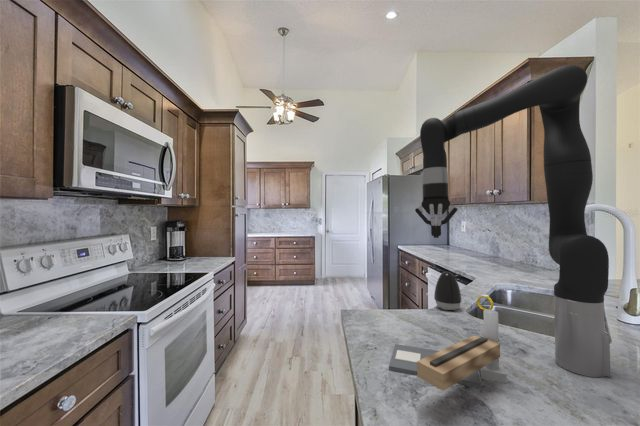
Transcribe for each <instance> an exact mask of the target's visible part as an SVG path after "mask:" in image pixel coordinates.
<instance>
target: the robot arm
mask: <svg viewBox="0 0 640 426" xmlns="http://www.w3.org/2000/svg"><path fill="white" fill-rule="evenodd" d="M587 83H588V73H587V71H586V70H585V69H584V68H583V67H581V66H578V65H573V64H568V65H563V66H559V67H556V68H554V69H552V70H549V71H548V72H546V73H544V74H541V75H540V76H538V77H537V78H534V79H533V80H531V81H529V82H526V83H525V84H522V85H520V86H519V87H516V88H514V89H512V90H510V91H508V92H505V93H503V94H499V95H498V96H495V97H494V98H491V99H489V100H488V99H487V100H484V101H483V102H480V103H477V104H475V105H472V106H468V107H466V108H463V109H461V110H458V111H457V112H455V113H454V114H453V116H452V117H450V118H448V119H446V120H443V121H442V120H441V119H440V118H438V117H437V118H436V117H430V118H427V119H426V120H425V121H423V123H422V125H421V127H420V130H419V131H420V133H419V136H420V137H419V138H420V144H421V151H422V168H423V169H422V171H423V172H422V181H421V182H422V202H421V205H419V207H417V208H415V209H414V211H415V213H416V214H417V215H418V216H419V217H420V218H421V220H422V221H423V222H424V223H425V224H426V225H430V234H431V236H433V238H434V239H436V238H437V239H438V238H439V237H440V236H441V235H442V226H443V225H446V224H448V222H449V221H450V220H451V219H452V218H453V217H454V215H455V214H456V213H457V211H458V208H457V207H455V206H453V204H451V201H450V199H449V173H448V165H447V164H448V158H447V156H448V155H447V152H446V150H445V143H446V142H449V141H451V140H453V139H455V138H458V137H459V136H461V135H464V134H469V133H471V132H474V131H477V130H480V129H483V128H487V127H489V126H491V125H493V124H496V123H497V122H499V121H502V120H503V119H505V118H508V117H509V116H511V115H514V114H515V113H516V114H517V113H519V112H522V111H523V110H527V109H530V108H535V107H539V110H540V111H539V112H540V116H541V121H542V126H543V132H544V134H543V135H544V137H543V173H544V182H545V189H546V198H547V207H548V214H549V229H548V230H549V232H548V253H549V255H550V258H551V259H552V260H553V262H554V263H555V264H557V265H559V275H558V276H559V277H558V281H557V282H555V284H554V285H553V303H554V304H553V307H554V312H553V313H554V315H553V316H554V357H555V363H556V365H558V366H559V367H561V368H563V369H564V370H567V371H569V372H572V373H574V374H578V375H582V376H586V377H593V378H600V377H602V378H603V377H609V378H610V377H611V349H610V348H611V347H610V346H611V344H610V335H609V334H607V333H606V332H605V331H606V329H605V328H606V327H605V323H606V321H605V295H606V293H607V290H608V289H609V269H610V268H609V266H610V265H609V264H610V260H609V259H610V258H609V252H608V249H607V247H606V245H605V244H604V242H602V240H600V239H599V238H597V237H595V236H591V235H588V232H587V227H586V222H585V219H586V218H585V217H586V216H585V215H586V214H585V211H586V207H587V203H588V200H589V198H590V193H591V191H592V190H591V189H592V186H593V166H592V156H591V151H590V149H589V145H588V142H587V141H586V137H585V135H584V133H583V131H582V128H581V122H580V121H581V120H580V100H581V96H582V93H583V92H584V90H585V88H586V86H587ZM424 210H425V212H426V213H427V215H429V217H430V220H429V219H428V218H427V217H426V216H425V214H424ZM446 211H448V212H449V213H448V214H447V215H446V216H445V218H444V219H442V218H443V217H442V215H443V214H445V212H446ZM435 215H436V218H435Z"/></svg>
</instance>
